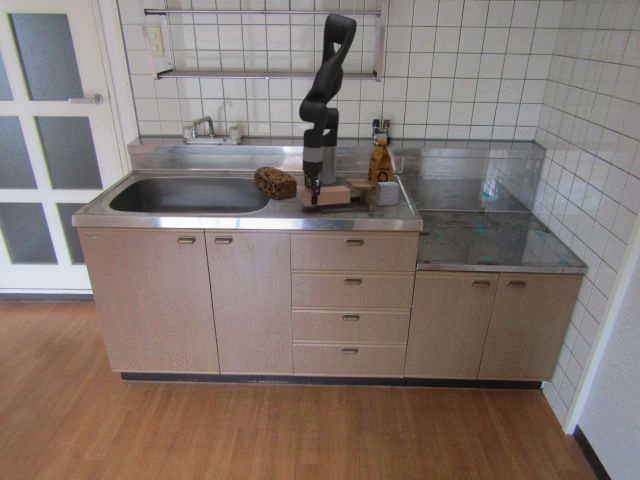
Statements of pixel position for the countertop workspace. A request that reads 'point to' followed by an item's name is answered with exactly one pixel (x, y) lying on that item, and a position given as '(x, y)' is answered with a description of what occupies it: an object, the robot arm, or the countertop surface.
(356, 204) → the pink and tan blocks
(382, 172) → the coffee package
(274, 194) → the bread
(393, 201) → the medicine box
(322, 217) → the countertop surface
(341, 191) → the rectangular block
